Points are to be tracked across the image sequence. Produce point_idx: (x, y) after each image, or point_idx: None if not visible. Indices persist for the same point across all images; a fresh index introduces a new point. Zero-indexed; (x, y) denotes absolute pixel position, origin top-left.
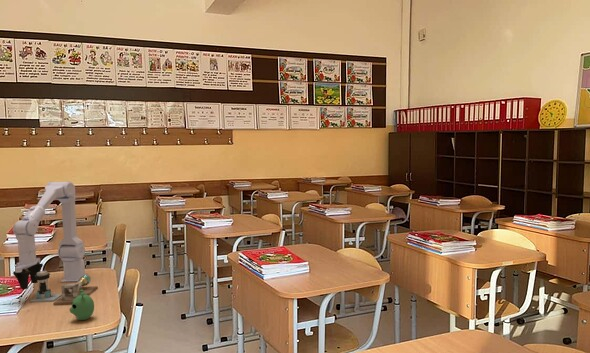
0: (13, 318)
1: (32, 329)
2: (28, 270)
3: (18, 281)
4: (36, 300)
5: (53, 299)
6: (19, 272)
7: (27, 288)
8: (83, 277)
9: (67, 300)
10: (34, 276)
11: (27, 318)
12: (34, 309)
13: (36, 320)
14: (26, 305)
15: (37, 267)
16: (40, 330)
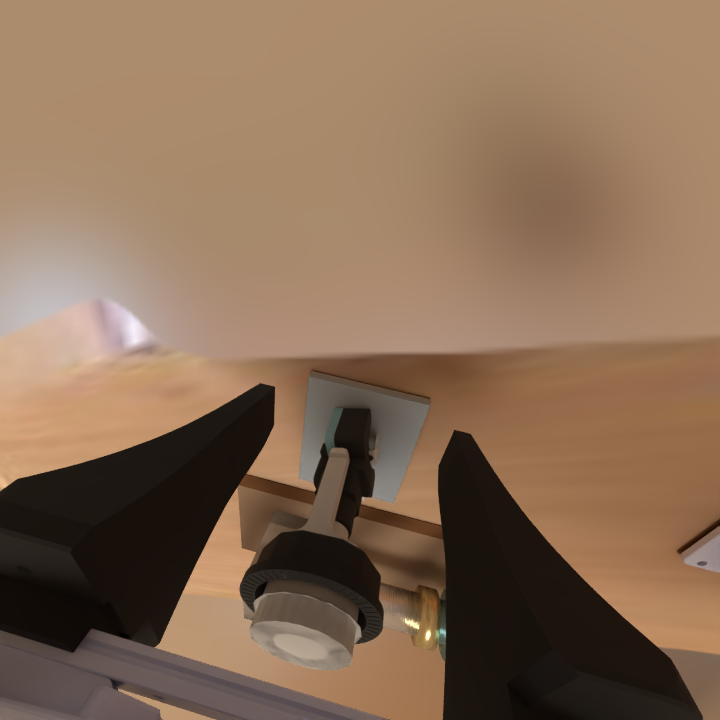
0: (67, 351)
1: (3, 440)
2: (509, 564)
3: (187, 425)
4: (305, 409)
5: (304, 477)
6: (7, 584)
7: (272, 425)
8: (431, 650)
9: (261, 524)
10: (271, 564)
11: (83, 407)
12: (191, 413)
13: (74, 439)
14: (255, 363)
15: (458, 689)
16: (7, 460)
